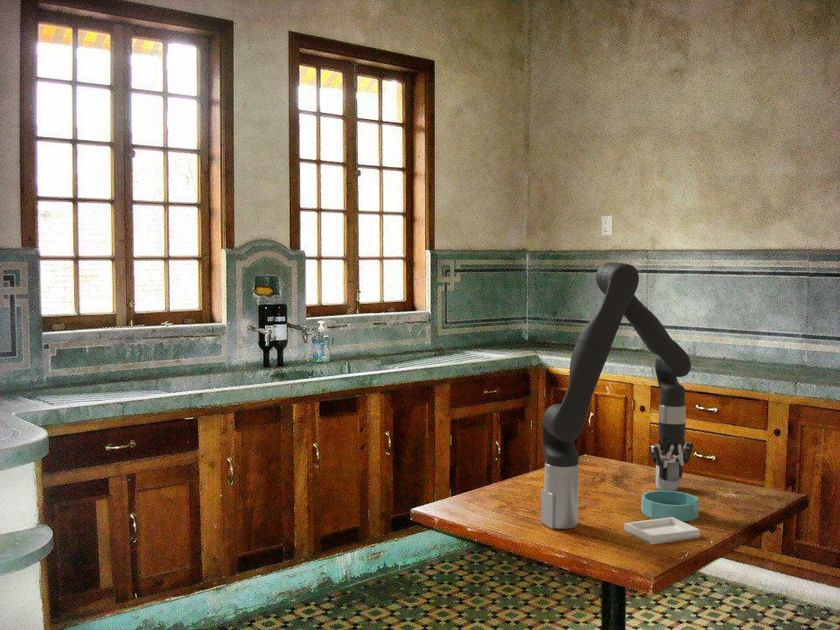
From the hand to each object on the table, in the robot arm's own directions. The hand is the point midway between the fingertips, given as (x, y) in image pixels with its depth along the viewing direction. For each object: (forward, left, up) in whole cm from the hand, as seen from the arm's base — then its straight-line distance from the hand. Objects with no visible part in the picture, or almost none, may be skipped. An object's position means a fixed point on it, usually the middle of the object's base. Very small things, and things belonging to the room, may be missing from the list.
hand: (670, 478), depth 250 cm
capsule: (0, 0, 0) cm, 0 cm away
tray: (-14, -15, -10) cm, 23 cm away
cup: (+15, +22, -10) cm, 29 cm away
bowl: (0, 0, -10) cm, 10 cm away
